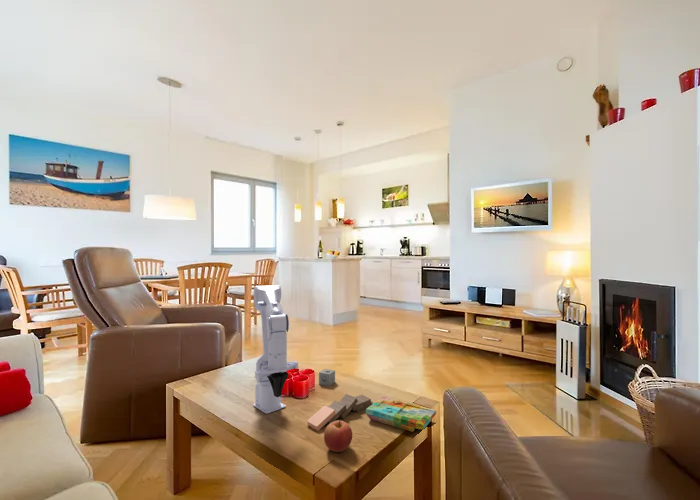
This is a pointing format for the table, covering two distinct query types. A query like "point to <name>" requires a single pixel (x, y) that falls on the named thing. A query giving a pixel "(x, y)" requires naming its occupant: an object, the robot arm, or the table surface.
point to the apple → (338, 436)
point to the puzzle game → (400, 414)
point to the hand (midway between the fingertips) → (277, 395)
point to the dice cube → (327, 377)
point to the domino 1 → (321, 417)
